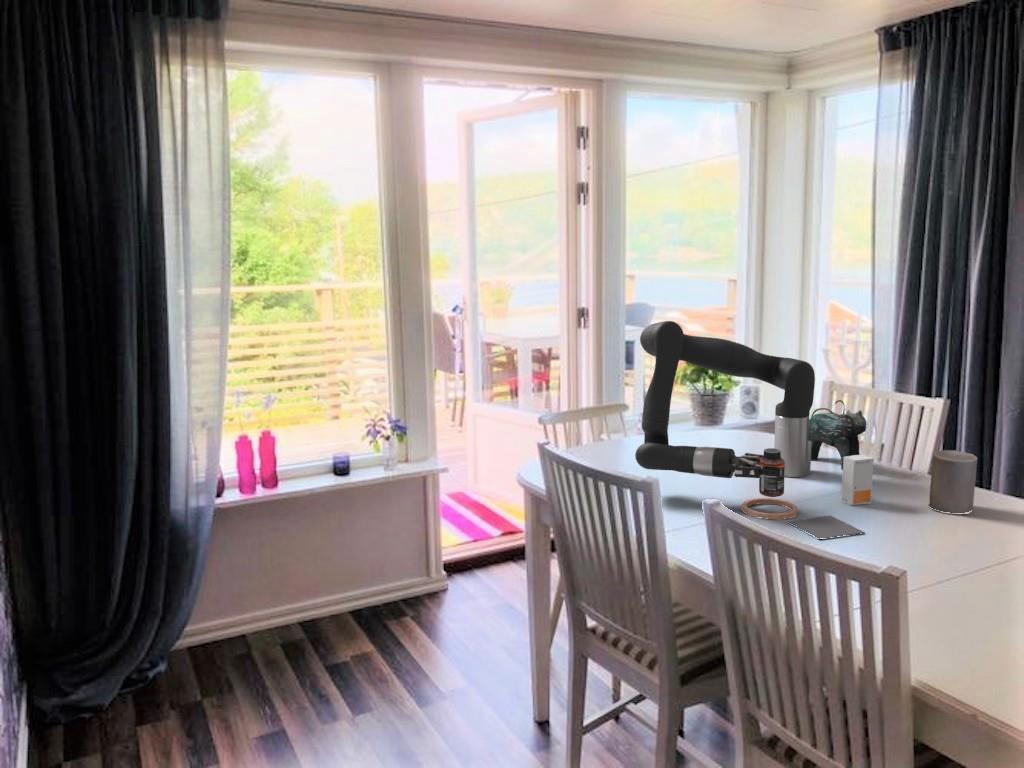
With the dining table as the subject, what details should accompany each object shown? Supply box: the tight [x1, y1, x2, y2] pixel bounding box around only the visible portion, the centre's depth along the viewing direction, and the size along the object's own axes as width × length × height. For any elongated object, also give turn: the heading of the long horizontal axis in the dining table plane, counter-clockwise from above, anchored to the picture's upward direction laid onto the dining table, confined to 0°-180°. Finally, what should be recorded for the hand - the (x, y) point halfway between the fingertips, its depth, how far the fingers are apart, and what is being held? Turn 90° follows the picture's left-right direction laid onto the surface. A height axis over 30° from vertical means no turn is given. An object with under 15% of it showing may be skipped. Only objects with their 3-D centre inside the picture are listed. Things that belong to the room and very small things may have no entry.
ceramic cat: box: [808, 399, 867, 471], centre depth 235 cm, size 20×6×20 cm, turn 25°
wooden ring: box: [741, 497, 799, 520], centre depth 199 cm, size 13×13×1 cm
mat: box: [787, 515, 865, 539], centre depth 186 cm, size 12×12×1 cm
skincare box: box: [840, 454, 875, 506], centre depth 202 cm, size 6×4×12 cm
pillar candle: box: [928, 449, 978, 513], centre depth 195 cm, size 10×10×15 cm
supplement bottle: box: [758, 447, 785, 498], centre depth 197 cm, size 6×6×11 cm
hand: (782, 468), depth 196 cm, fingers closed on supplement bottle, 6 cm apart
